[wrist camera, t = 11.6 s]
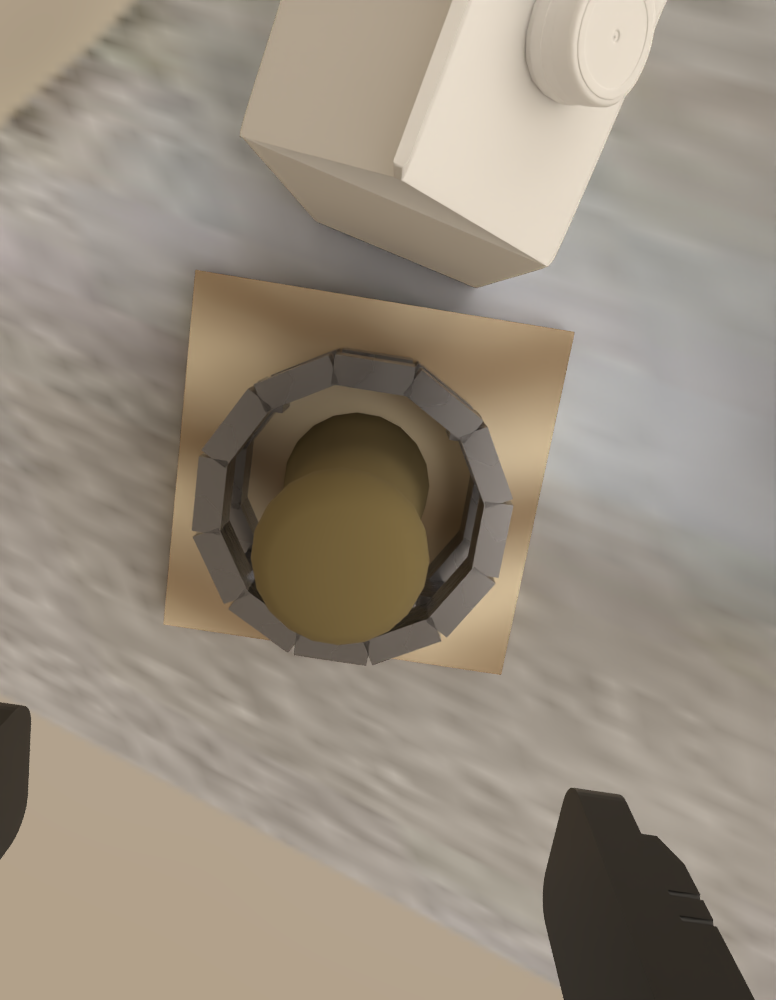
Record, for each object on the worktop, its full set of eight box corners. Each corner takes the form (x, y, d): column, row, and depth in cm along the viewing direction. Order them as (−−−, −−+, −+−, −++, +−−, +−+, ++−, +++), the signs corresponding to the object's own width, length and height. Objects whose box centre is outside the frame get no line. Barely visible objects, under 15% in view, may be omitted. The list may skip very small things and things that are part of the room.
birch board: (205, 271, 30) (195, 269, 29) (566, 331, 31) (574, 332, 29) (173, 611, 34) (163, 624, 32) (496, 659, 34) (500, 674, 33)
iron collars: (240, 330, 29) (210, 334, 24) (514, 374, 30) (537, 386, 25) (213, 588, 32) (181, 638, 27) (464, 626, 32) (476, 682, 27)
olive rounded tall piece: (285, 552, 32) (228, 675, 21) (282, 410, 30) (220, 465, 19) (427, 555, 32) (443, 679, 21) (431, 413, 30) (451, 469, 19)
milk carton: (314, 221, 30) (182, 74, 11) (379, 36, 28) (348, -490, 10) (477, 289, 30) (604, 255, 12) (550, 111, 29) (829, -248, 10)
